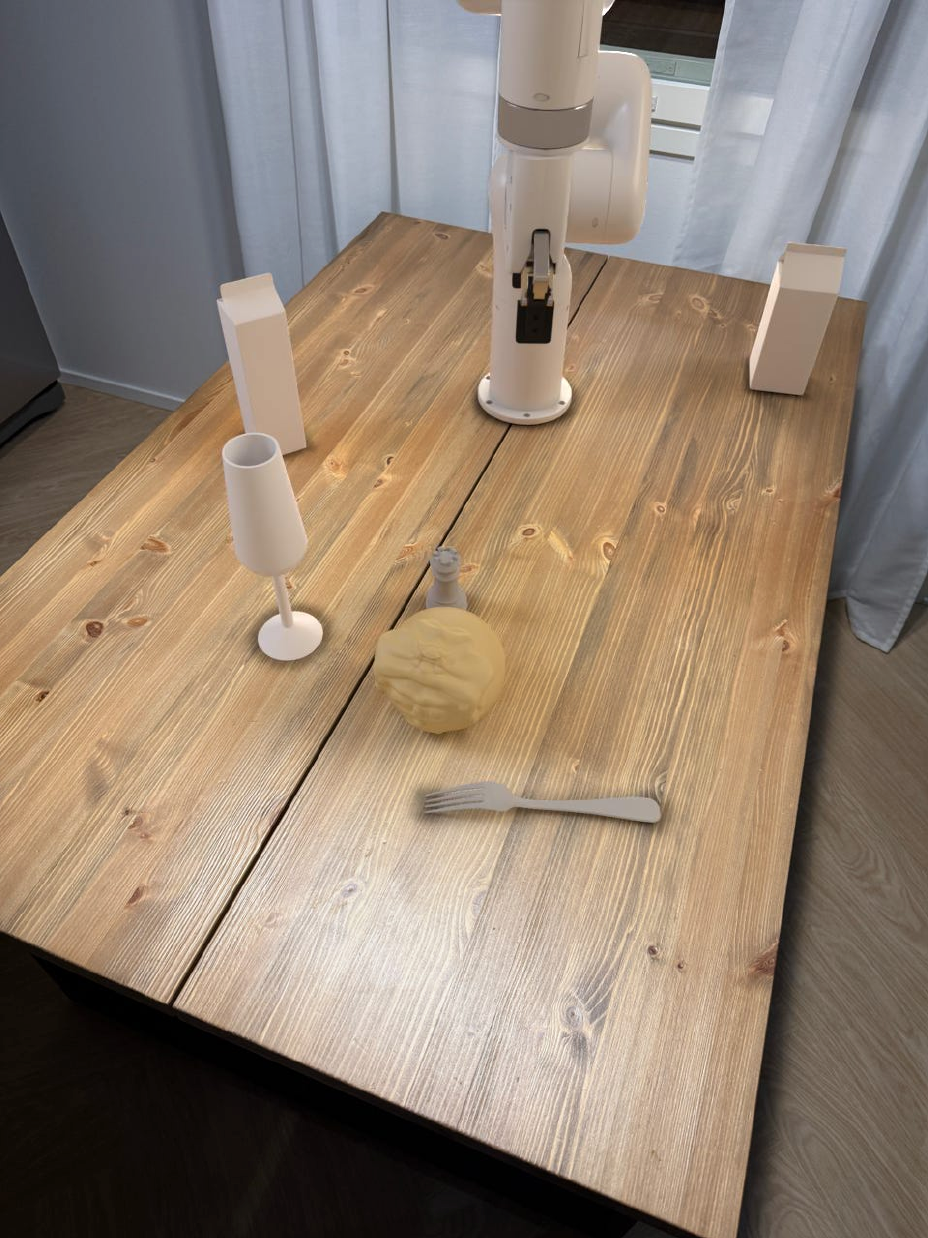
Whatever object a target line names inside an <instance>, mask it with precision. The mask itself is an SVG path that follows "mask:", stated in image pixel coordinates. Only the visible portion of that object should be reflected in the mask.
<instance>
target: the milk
mask: <svg viewBox="0 0 928 1238" xmlns="http://www.w3.org/2000/svg"><path fill="white" fill-rule="evenodd" d="M273 279H274V277H273V275H272V273H271V272H266V273H262V274H258V275H255V276H250V277H246V278H242V279H238V280H233V281H230V282H226V283H223V284H221V285H220V286H219V291H220V295H221V298H218V299H217V300H216V305H217V310H218V314H219V319H220V323H221V327H222V333H223V337H224V342H225V346H226V349H227V350H226V351H227V355H228V360H229V365H230V369H231V374H232V377H233V383H234V387H235V391H236V393H235V394H236V397H237V403H238V406H239V410H240V415H241V418H242V419H241V420H242V425H243V429H244V434H246V433H263V434H267V435H269V436H272V437H273V438H274V439H276V441H277V442H278V444H279V447H280V450H281V453H282V456H285V455H288V454H291V453H294V452H297V451H300V450H304V449H306V448H307V440H306V435H305V427H304V422H303V415H302V409H301V401H300V395H299V390H298V382H297V376H296V370H295V364H294V363H295V362H294V357H293V352H292V344H291V338H290V331H289V325H288V319H287V311H286V309H285V307H284V304H283V302H282V300H281V298H280V296H279V294H278V292H277V291H278V290H276V287H275V285H274V280H273Z"/></svg>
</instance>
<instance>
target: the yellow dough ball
mask: <svg viewBox="0 0 928 1238" xmlns="http://www.w3.org/2000/svg"><path fill="white" fill-rule="evenodd" d="M506 662H507V661H506V655H505V650H504V648H503V644H502V642H501V640H500V637H499V636H498V635H497V633H496V632H495V631H494V629H493V628H492V627H491V626H490V625H489V624H488V623H487V622H486V621H485V620H484V619H482V618H481V617H479V616H478V615H476V614H474V613H472V612H470V611H468V610H466V611H465V610H462V609H459V608H454V607H434V608H429V609H426V608H425V609H423V610H420V611H418V612H416V613H414V614H412V615H410V616H409V617H408V618H407V619H405V620H404V622H402V623H401V624H400V625H399V626H398V627H397V628H396V629H390V630H388V631H386V632H384V633H382V634H381V635H380V636H379V637H378V639H377V642H376V647H375V654H374V661H373V664H372V673H373V677H374V679H375V682H374V684H375V687H376V690H377V691H378V692H380V693H383V694H384V695H385V697H386V699H387V700H388V701H389V702H390V704H392V706H393V707H394V708H395V709H396V710H397V711H398V712H399V713H400V714H401V716H403V717H404V720H405V722H406V723H407V724H408V725H410V726H411V727H413V728H415V729H419V730H421V731H423V732H427V733H431V734H436V735H440V734H443V733H446V732H457V731H461V730H464V729H467V728H469V727H472V726H473V725H475V724H476V723H478V722H480V721H481V720H482V719H483V718H485V717H486V715H488V713H489V712H490V711H491V710H492V709H493V708H494V706H495V705H496V703H497V701H498V699H499V698H500V695H501V693H502V690H503V687H504V683H505V678H506V673H507V672H506V671H507V664H506Z"/></svg>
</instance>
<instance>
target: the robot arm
mask: <svg viewBox="0 0 928 1238" xmlns="http://www.w3.org/2000/svg"><path fill="white" fill-rule="evenodd" d="M615 1H616V0H455V2H456V3H457V4H458V6H460V8H462V9H463V10H465V11H467V12H468V13H471V14H475V15H483V16H484V15H485V16H500V39H499V40H500V43H499V70H498V72H499V73H498V97H497V99H498V100H497V123H496V124H497V125H496V126H497V127H496V128H497V129H496V139H497V141H498V142H499V143H500V144H501V145H502V146H503V147H504V148H506V149H507V151H506V152H504V153H503V154H501V155H500V156H499V157H498V158H497V159H496V160H495V161H494V163H493V165H492V167H491V169H490V173H489V179H488V190H487V191H488V204H489V205H488V206H489V212H490V223H491V230H492V244H493V245H492V246H493V280H492V306H491V307H492V309H491V330H490V331H491V335H490V360H489V361H490V362H489V363H490V364H489V372H488V373H487V374H485V375H484V376H483V378H482V379H481V380H480V381H479V383H478V385H477V386H478V387H477V399H478V403H479V405H480V406H481V408H482V409H483V410H484V411H485V412H486V413H487V414H489V415H490V416H492V417H493V418H495V419H498V420H500V421H502V422H506V423H509V424H514V425H521V426H522V425H523V426H524V425H527V426H530V425H539V424H540V425H541V424H545V423H548V422H551V421H554V420H556V419H558V418H560V417H561V416H562V415H563V414H565V413H566V412H567V411H568V409H569V408H570V406H571V403H572V396H573V391H572V390H573V389H572V387H571V385H570V382H568V380H567V379H566V378H565V377H564V376H563V373H564V372H563V371H564V362H565V355H566V354H565V352H566V345H567V344H566V343H567V334H568V333H567V332H568V325H569V315H570V307H571V297H572V288H573V273H572V268H571V265H570V262H569V260H568V258H567V256H566V254H565V248H566V247H565V245H566V244H567V243H568V244H585V245H608V246H609V245H610V246H611V245H623V244H627V243H629V242H630V241H633V239H634V238H636V236H637V235H638V233H639V232H640V231H641V228H642V225H643V223H644V222H643V221H644V218H645V213H646V206H647V205H646V204H647V196H648V195H647V194H648V183H649V182H648V181H649V180H648V178H649V164H650V163H649V162H650V148H651V146H650V145H651V144H650V143H651V129H652V113H653V81H652V75H651V72H650V69H649V67H648V64H647V63H646V61H645V60H644V59H643V58H641V57H640V56H638V55H637V54H634V53H630V52H624V51H610V50H600V44H601V36H602V35H601V34H602V27H603V25H602V24H603V16H604V15H605V14H606V13H607V12H608V11H609V10H610V8H611V7H612V6H613V4H614V2H615Z"/></svg>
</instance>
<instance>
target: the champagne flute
mask: <svg viewBox="0 0 928 1238" xmlns="http://www.w3.org/2000/svg"><path fill="white" fill-rule="evenodd" d="M221 458H222V465H223V473H224V482H225V488H226V498H227V505H228V513H229V520H230V528H231V535H232V543H233V550H234V551H233V552H234V555H235V557H236V559H237V560H238V562H239V563H240V564H241V565H242V566H243V567H244V568H245V569H247V570H248V571H250V572H251V573H254V574H256V575H259V576H260V577H261V576H263V577H268V578H269V577H270V578H271V580H272V586H273V589H274V594H275V599H276V602H277V608H278V612H279V613H278V614H275V615H274V616H272V617H270V618H269V619H268V620H267V621H265V622H264V624H262V626H261V627H260V629H259V632H258V635H257V643H258V646H259V648H260V650H261V651H262V652H263V653H264V654H265V655H266V656H268V657H270V658H271V659H274V660H278V661H295V660H300V659H303V658H306V657H307V656H308V655H310V654H311V653H313V652H314V651H315V650H316V649H317V648H318V647H319V646H320V644H321V643H322V640H323V636H324V630H323V626H322V624H321V622H320V621H319V619H317V618H316V617H315V616H313V615H312V614H309V613H307V612H303V611H298V610H294V611H292V607H291V602H290V599H289V598H290V597H289V593H288V588H287V583H286V579H285V574H288V573H289V572H291V571H293V570H294V569H295V568H296V567H297V566H299V564H300V563H301V561H302V560H303V559H304V556H305V554H306V552H307V549H308V541H309V540H308V536H307V533H306V529H305V526H304V522H303V519H302V516H301V513H300V509H299V506H298V503H297V500H296V498H295V497H296V496H295V493H294V490H293V487H292V483H291V480H290V477H289V474H288V470H287V467H286V463H285V460H284V455H282V453H281V450H280V447H279V444H278V442H277V441H276V439H274V438H273V437H272V436H269V435H267V434H263V433H246V434H245V433H243V434H239V435H236V436H235V437H232V438H231V439H229V440H228V441H227V442H226V443H225V444H224V445H223V447H222V450H221Z"/></svg>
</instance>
